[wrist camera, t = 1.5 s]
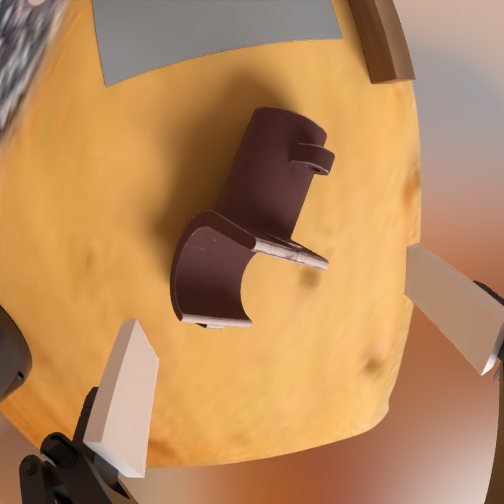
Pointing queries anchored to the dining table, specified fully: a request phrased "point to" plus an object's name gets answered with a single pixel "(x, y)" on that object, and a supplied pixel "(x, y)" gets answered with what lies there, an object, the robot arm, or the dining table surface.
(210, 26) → the mat
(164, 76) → the dining table surface
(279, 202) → the bracket
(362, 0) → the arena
